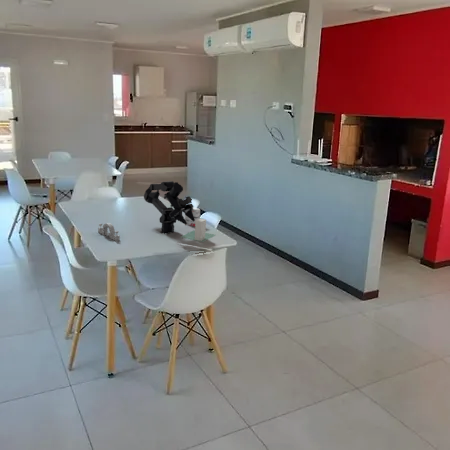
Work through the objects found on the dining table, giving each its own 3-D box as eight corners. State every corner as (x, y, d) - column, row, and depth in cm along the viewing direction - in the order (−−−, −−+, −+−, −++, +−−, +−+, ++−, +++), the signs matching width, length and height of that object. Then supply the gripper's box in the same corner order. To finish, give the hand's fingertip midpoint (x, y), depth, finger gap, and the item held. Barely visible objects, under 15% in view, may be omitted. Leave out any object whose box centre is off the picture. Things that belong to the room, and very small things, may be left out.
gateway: (98, 233, 267) (98, 219, 265) (101, 232, 269) (101, 219, 267) (115, 242, 254) (115, 227, 252) (119, 241, 255) (119, 227, 253)
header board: (179, 238, 265) (179, 233, 264) (193, 232, 280) (193, 227, 279) (203, 243, 259) (203, 238, 258) (215, 236, 274) (216, 231, 273)
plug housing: (194, 239, 262) (195, 220, 259) (199, 237, 267) (200, 218, 264) (200, 240, 261) (201, 221, 258) (205, 238, 266) (206, 219, 263)
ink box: (199, 226, 293) (200, 208, 290) (194, 228, 289) (195, 209, 286) (189, 223, 297) (190, 206, 294) (184, 225, 294) (185, 207, 290)
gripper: (174, 194, 254) (191, 217, 253) (191, 189, 271) (207, 211, 269) (162, 206, 260) (178, 229, 258) (179, 201, 276) (194, 222, 275)
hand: (190, 222), depth 265 cm, fingers open, 9 cm apart
